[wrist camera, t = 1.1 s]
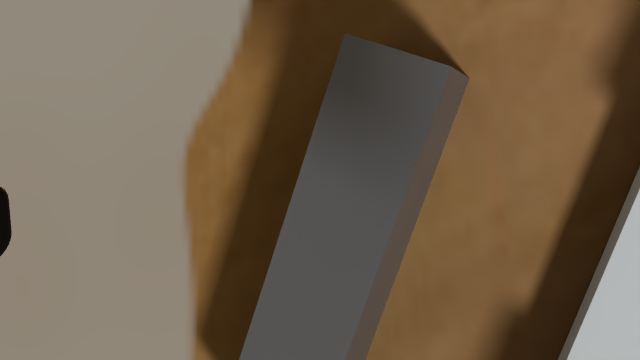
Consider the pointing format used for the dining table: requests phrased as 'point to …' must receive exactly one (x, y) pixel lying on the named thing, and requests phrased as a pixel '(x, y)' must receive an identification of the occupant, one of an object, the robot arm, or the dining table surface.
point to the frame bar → (354, 203)
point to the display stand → (612, 295)
